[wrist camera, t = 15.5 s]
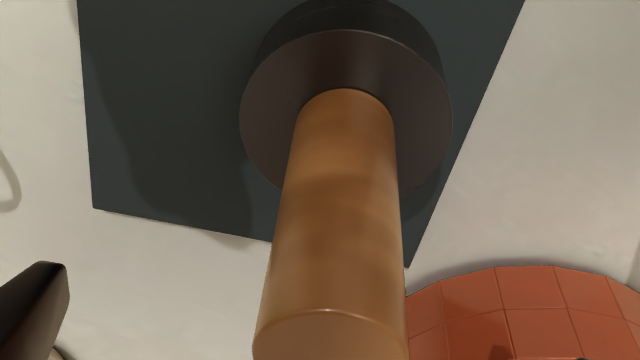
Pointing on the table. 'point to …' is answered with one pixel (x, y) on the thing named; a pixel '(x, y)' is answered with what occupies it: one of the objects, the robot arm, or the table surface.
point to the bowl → (524, 316)
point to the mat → (235, 105)
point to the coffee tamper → (342, 172)
